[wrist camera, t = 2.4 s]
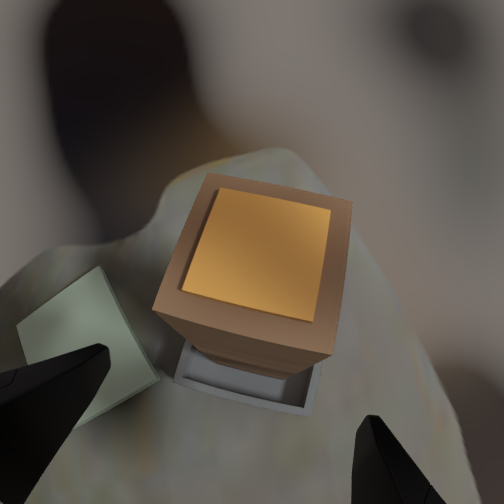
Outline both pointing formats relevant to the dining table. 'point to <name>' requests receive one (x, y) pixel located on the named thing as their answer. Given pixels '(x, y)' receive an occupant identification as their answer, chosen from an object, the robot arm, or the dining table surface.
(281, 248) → the walnut box
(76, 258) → the dining table surface
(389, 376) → the dining table surface
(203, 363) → the grey square tray
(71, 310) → the sage pad
